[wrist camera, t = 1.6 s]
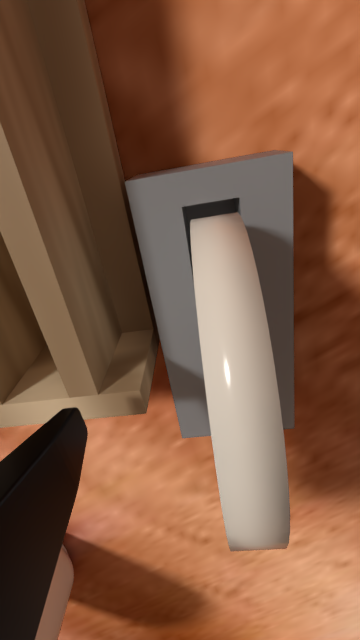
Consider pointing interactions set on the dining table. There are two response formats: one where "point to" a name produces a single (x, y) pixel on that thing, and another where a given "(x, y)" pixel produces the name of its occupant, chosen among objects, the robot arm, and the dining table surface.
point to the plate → (240, 386)
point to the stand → (177, 271)
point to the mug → (57, 598)
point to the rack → (65, 230)
